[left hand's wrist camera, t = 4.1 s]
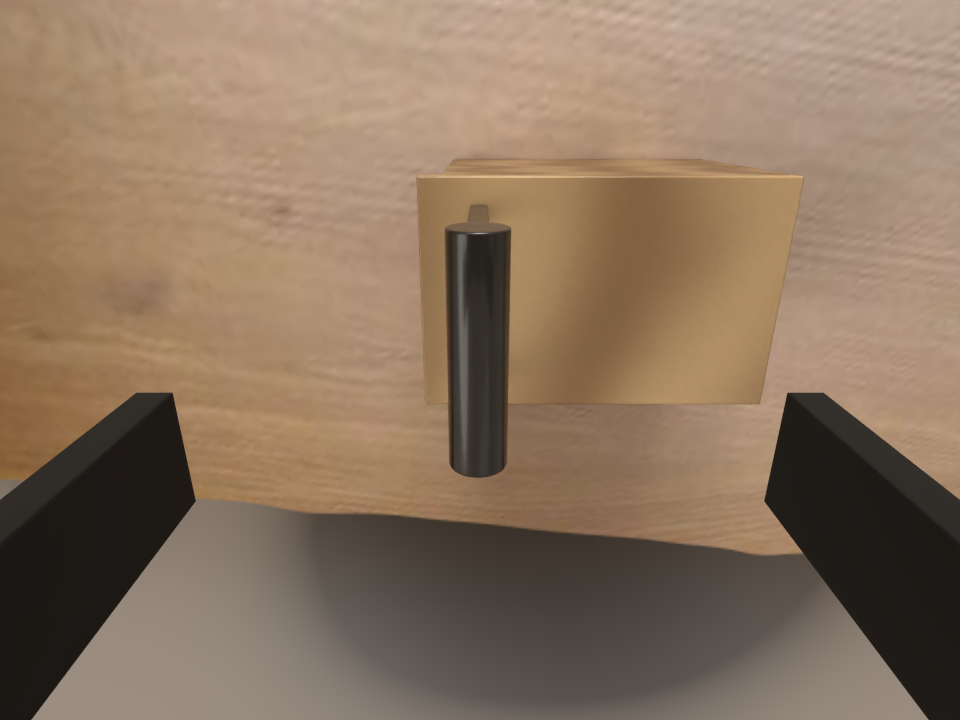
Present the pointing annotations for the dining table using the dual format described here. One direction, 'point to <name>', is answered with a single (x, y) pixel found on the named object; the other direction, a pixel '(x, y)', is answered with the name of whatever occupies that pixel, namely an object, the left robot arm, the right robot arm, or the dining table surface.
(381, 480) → the dining table surface
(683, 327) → the lid
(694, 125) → the dining table surface
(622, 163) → the chest
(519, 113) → the dining table surface
